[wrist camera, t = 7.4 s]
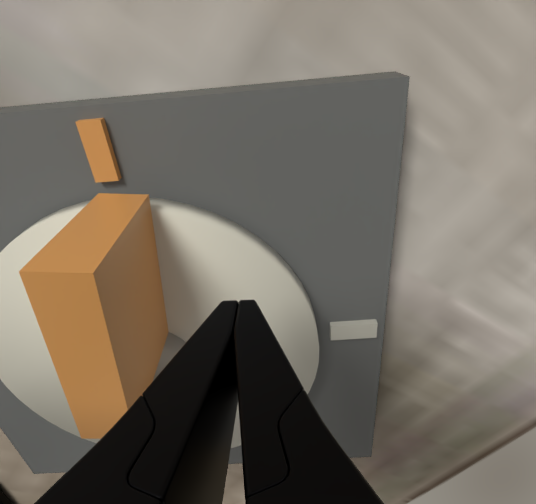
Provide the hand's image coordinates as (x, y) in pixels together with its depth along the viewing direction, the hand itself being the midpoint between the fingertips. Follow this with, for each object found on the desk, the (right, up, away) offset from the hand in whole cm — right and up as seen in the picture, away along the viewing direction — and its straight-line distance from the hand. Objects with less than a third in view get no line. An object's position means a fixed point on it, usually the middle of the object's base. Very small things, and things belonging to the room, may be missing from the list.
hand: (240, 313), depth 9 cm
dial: (-4, -2, +7) cm, 9 cm away
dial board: (-4, -2, +9) cm, 10 cm away
